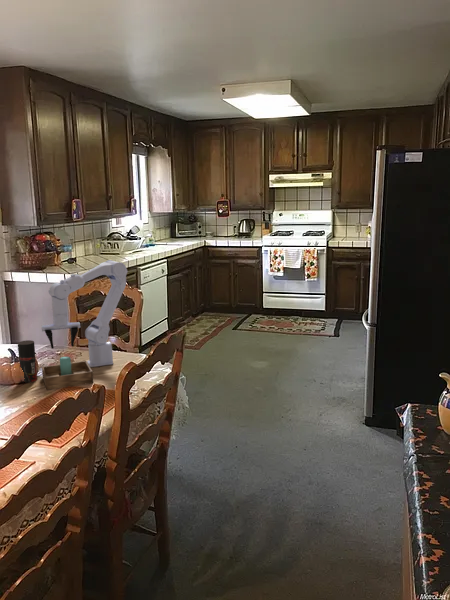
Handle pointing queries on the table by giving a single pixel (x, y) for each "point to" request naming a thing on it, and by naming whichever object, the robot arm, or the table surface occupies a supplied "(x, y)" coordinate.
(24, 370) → the deodorant
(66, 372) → the peg
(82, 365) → the box
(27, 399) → the table surface
